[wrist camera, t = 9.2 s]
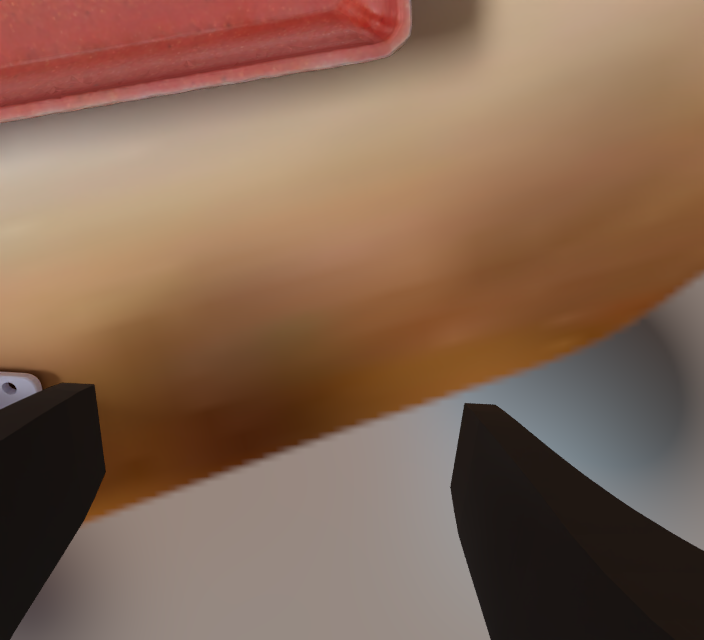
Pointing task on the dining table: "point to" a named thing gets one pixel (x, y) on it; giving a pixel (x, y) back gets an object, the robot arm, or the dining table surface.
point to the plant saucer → (177, 46)
